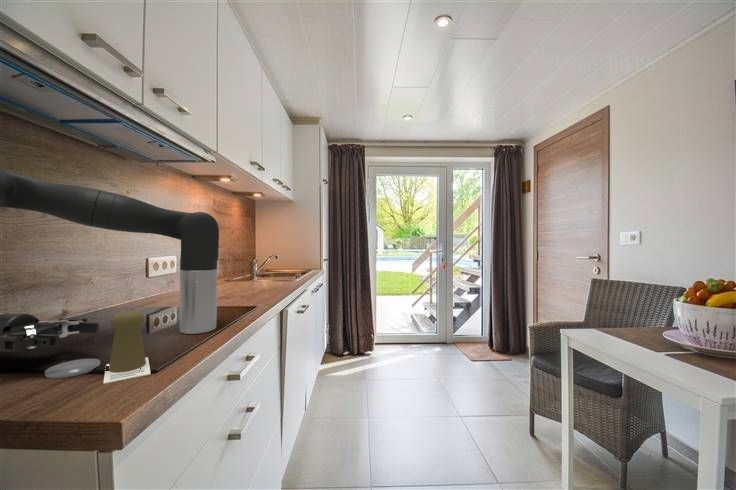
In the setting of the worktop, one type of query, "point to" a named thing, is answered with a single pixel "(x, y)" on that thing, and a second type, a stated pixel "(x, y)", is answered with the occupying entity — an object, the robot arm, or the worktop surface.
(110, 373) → the letter
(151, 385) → the worktop surface
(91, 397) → the worktop surface
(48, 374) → the coaster
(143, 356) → the cork
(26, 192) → the robot arm
